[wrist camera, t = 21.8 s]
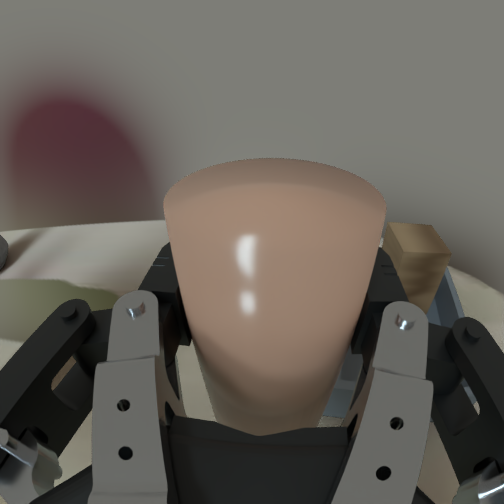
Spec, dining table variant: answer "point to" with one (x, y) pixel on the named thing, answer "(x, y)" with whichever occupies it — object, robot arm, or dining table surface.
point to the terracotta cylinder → (272, 282)
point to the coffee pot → (3, 251)
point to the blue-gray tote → (440, 313)
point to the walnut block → (417, 260)
